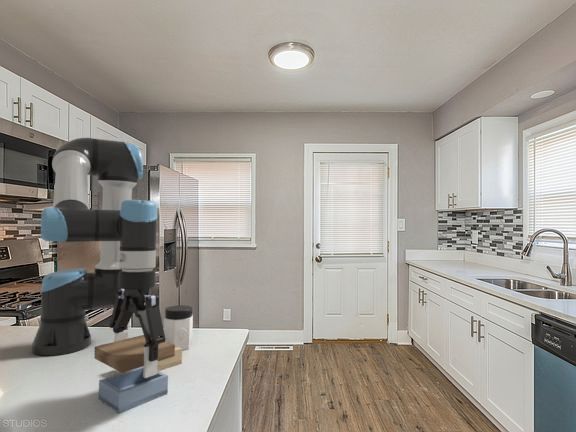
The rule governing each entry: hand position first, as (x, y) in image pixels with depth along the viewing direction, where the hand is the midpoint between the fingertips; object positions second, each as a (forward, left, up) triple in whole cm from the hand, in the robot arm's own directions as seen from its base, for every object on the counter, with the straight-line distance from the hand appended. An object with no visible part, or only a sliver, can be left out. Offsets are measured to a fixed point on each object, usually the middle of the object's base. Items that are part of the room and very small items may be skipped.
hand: (134, 368), depth 78 cm
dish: (0, 0, -6) cm, 6 cm away
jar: (-20, +25, -6) cm, 33 cm away
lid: (0, 0, +2) cm, 2 cm away
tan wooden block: (-12, +11, -6) cm, 18 cm away
